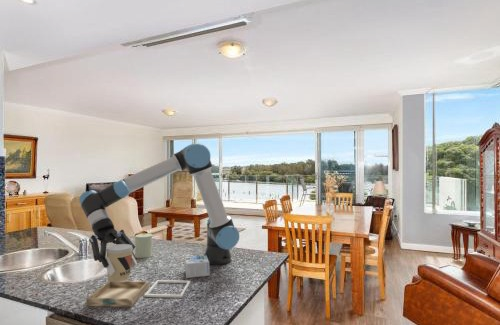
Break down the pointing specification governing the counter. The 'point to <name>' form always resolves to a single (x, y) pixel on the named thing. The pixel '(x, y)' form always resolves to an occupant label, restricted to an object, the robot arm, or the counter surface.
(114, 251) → the coffee cup
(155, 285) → the white flat square frame
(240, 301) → the counter surface
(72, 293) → the counter surface
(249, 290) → the counter surface
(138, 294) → the wooden tray
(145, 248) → the can
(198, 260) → the light bulb box
